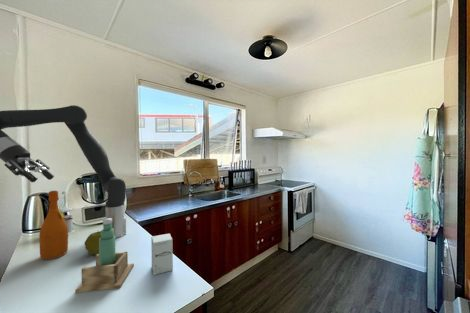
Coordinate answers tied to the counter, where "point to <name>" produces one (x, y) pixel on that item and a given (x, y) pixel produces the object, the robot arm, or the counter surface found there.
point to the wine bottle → (53, 231)
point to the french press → (68, 222)
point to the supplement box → (162, 253)
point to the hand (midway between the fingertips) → (44, 179)
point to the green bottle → (107, 244)
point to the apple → (93, 243)
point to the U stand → (105, 274)
